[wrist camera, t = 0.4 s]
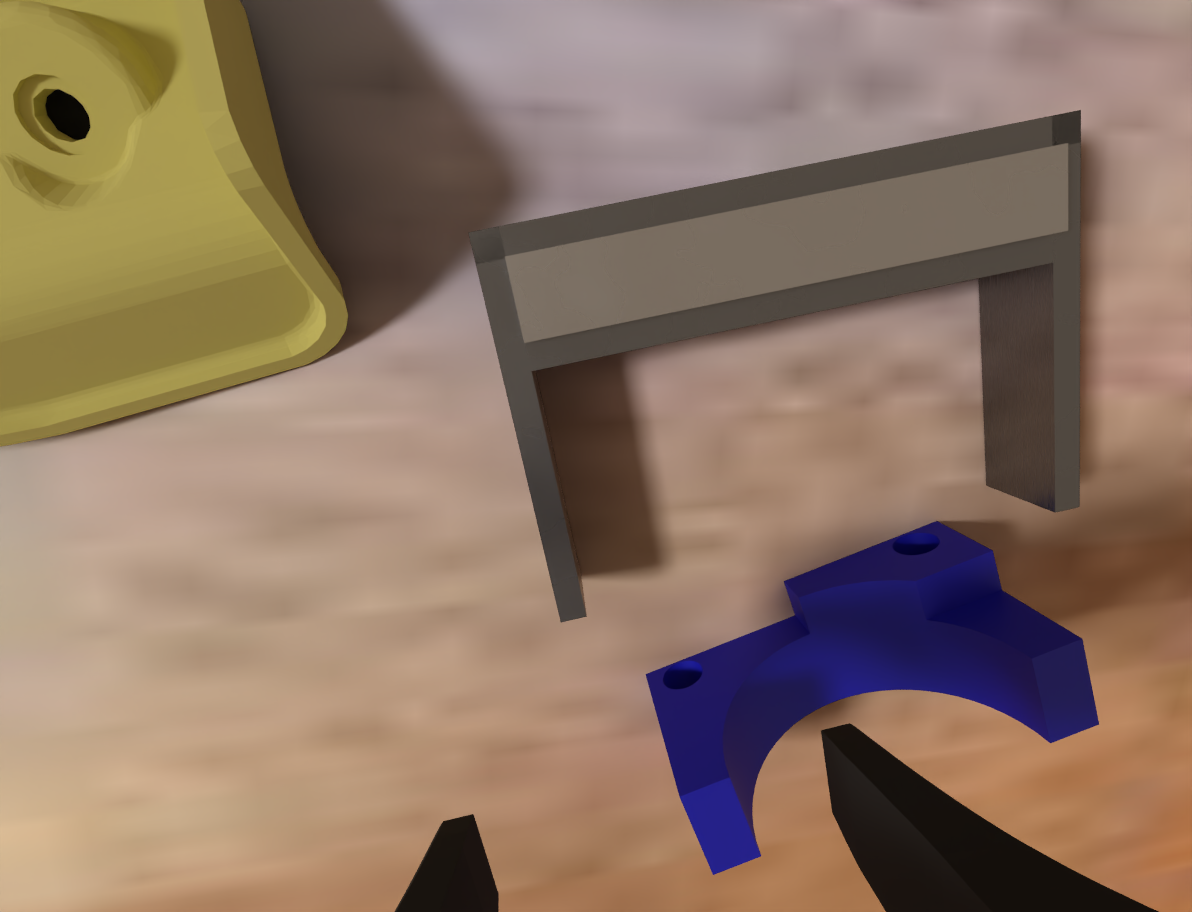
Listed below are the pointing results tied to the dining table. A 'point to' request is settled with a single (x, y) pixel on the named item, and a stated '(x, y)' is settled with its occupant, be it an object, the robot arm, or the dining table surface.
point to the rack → (813, 286)
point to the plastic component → (145, 217)
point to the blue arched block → (861, 669)
